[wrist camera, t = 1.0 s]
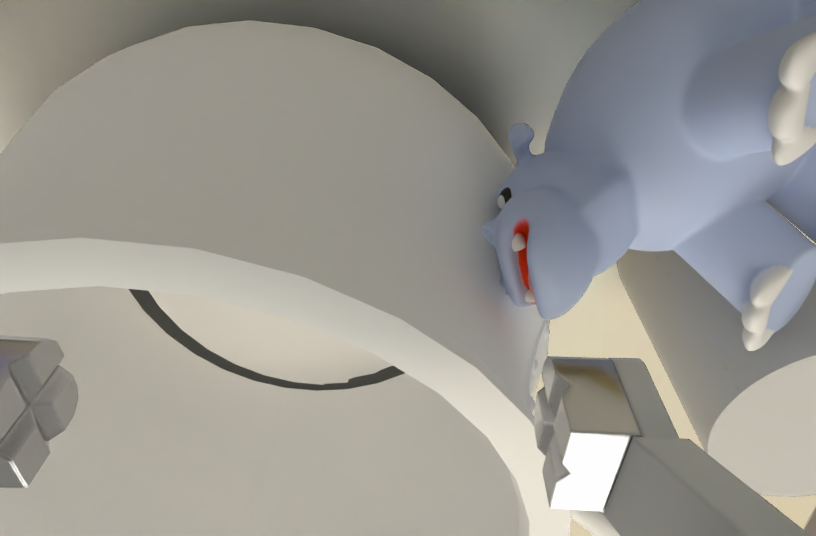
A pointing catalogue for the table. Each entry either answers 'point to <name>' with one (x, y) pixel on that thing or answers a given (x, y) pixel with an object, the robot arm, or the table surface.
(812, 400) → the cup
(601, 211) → the hippopotamus toy
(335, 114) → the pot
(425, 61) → the table surface
